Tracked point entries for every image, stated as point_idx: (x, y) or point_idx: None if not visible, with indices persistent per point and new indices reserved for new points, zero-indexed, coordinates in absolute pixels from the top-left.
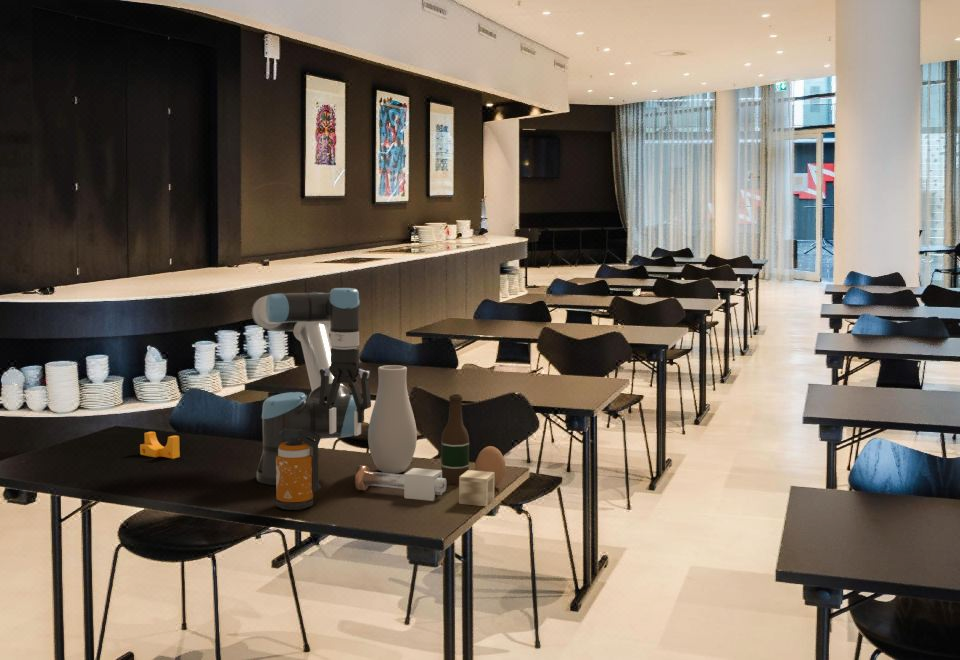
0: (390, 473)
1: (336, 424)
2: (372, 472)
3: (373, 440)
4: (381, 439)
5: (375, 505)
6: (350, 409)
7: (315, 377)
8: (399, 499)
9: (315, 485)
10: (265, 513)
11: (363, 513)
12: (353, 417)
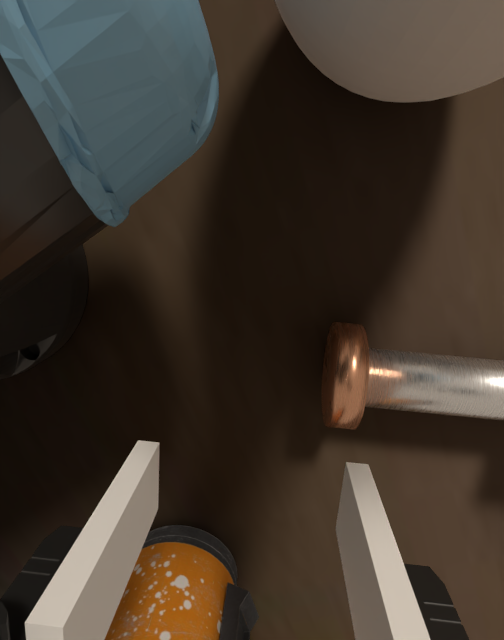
0: (486, 396)
1: (63, 255)
2: (397, 396)
3: (336, 60)
4: (412, 82)
5: (427, 512)
6: (99, 119)
7: None
8: (498, 435)
9: (242, 630)
10: None
11: None
12: (177, 146)
